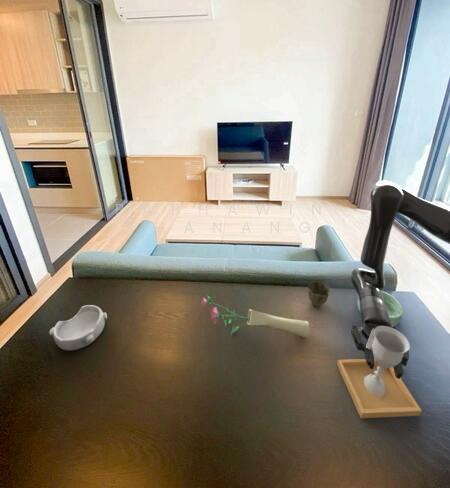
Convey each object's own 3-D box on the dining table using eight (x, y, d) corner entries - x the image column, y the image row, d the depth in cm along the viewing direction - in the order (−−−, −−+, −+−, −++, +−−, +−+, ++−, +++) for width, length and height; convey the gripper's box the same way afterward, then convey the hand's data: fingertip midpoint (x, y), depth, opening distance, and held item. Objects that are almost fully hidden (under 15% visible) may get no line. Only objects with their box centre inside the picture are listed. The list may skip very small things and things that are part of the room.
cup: (301, 304, 91) (304, 287, 88) (311, 293, 96) (314, 277, 93) (321, 316, 86) (324, 298, 83) (329, 304, 91) (333, 287, 88)
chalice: (362, 396, 63) (379, 348, 56) (356, 369, 69) (370, 323, 62) (394, 404, 61) (415, 356, 55) (385, 375, 67) (402, 329, 61)
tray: (385, 362, 71) (387, 358, 70) (419, 415, 59) (421, 410, 59) (336, 364, 71) (337, 359, 70) (360, 418, 59) (362, 413, 58)
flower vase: (298, 359, 79) (193, 337, 78) (294, 320, 89) (200, 300, 88) (313, 347, 72) (197, 322, 71) (307, 306, 81) (205, 283, 80)
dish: (46, 345, 76) (41, 334, 74) (82, 310, 88) (79, 299, 86) (83, 359, 72) (79, 348, 70) (115, 320, 84) (113, 310, 82)
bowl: (383, 297, 94) (386, 287, 93) (408, 327, 82) (412, 317, 80) (350, 297, 94) (352, 288, 92) (370, 328, 82) (373, 318, 80)
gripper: (350, 299, 75) (355, 350, 60) (406, 314, 70) (426, 373, 55) (346, 317, 78) (349, 370, 63) (399, 333, 73) (416, 394, 58)
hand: (385, 371), depth 59 cm, fingers closed on chalice, 5 cm apart
